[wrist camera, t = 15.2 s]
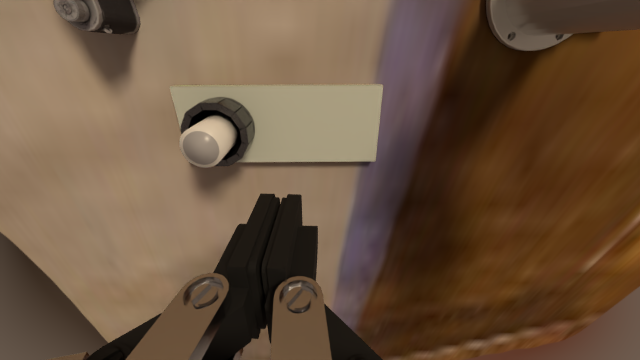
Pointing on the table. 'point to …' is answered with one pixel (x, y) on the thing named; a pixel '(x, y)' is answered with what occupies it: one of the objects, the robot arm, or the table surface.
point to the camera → (100, 15)
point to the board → (300, 119)
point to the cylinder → (209, 140)
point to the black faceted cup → (232, 110)
